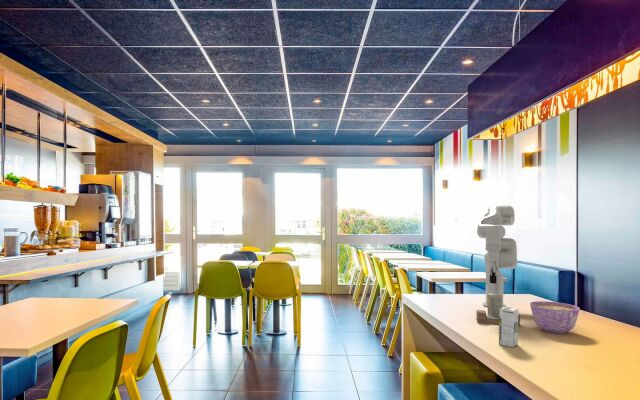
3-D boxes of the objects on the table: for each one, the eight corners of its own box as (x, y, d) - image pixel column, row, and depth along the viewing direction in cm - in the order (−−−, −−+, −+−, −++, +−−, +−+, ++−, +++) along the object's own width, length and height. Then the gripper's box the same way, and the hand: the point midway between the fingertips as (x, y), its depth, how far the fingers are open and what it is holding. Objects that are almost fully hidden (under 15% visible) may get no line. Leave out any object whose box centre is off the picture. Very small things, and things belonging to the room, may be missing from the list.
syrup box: (503, 341, 178) (503, 306, 178) (518, 344, 174) (518, 308, 175) (498, 344, 173) (498, 308, 174) (514, 347, 170) (514, 310, 170)
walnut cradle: (476, 319, 216) (476, 309, 217) (517, 323, 212) (517, 312, 212) (477, 322, 211) (477, 312, 211) (519, 325, 206) (520, 315, 206)
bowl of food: (587, 338, 186) (587, 311, 186) (536, 335, 190) (536, 308, 190) (570, 327, 205) (570, 302, 206) (524, 324, 209) (524, 300, 210)
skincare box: (499, 317, 224) (499, 293, 224) (502, 319, 219) (502, 294, 220) (486, 316, 224) (487, 292, 225) (489, 318, 220) (489, 294, 220)
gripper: (484, 247, 238) (483, 281, 237) (487, 248, 224) (487, 284, 222) (498, 248, 236) (498, 282, 235) (503, 249, 222) (502, 285, 220)
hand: (493, 283), depth 229 cm, fingers closed
